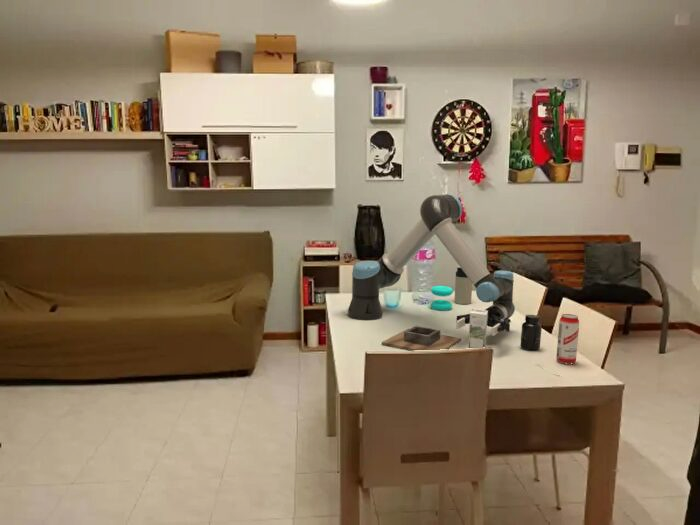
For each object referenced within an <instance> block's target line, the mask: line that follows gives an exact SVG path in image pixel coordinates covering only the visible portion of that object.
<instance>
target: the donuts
mask: <svg viewBox="0 0 700 525" xmlns="http://www.w3.org/2000/svg"><path fill="white" fill-rule="evenodd" d="M430 291H431V294H433V295H434V296H436V297H449V296H451V295H452V294H453V293H454V290H453V288H452V287H450V286H447V285H435V286H433V287H431V289H430ZM430 308H431V309H433V310H434V311H435V310H436V311H449V310H451V309H452V308H453V303H452V302H451V301H449V300H446V299H436V300H432V301H431V303H430Z"/></svg>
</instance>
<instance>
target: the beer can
mask: <svg viewBox="0 0 700 525" xmlns="http://www.w3.org/2000/svg"><path fill="white" fill-rule="evenodd" d="M558 323H559V324H558V335H557V343H556V344H557V347H556V357H555V358H556V360H557V362H558V361H559V362H558V363H560V362H562V363H561V364H563V363H567V364H566V365H572V364H571V363H573V364H574V363H576V362H577V353H578V342H579V341H578V340H579V333H580V332H579V329H580V320H579V316H578V315H576V314H572V313H562V314H561V317H560V318H559V322H558Z"/></svg>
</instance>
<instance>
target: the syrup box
mask: <svg viewBox="0 0 700 525" xmlns="http://www.w3.org/2000/svg"><path fill="white" fill-rule="evenodd" d="M469 314H470V324H469V328H468V329H469V330H468V345H467V346H468V347H467V349H468V348H483V347H486V348H487V333H488V332H487V330H488V326H487V319H488V311H486V310H485V309H473V308H472V309H471V310H470V313H469Z"/></svg>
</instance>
